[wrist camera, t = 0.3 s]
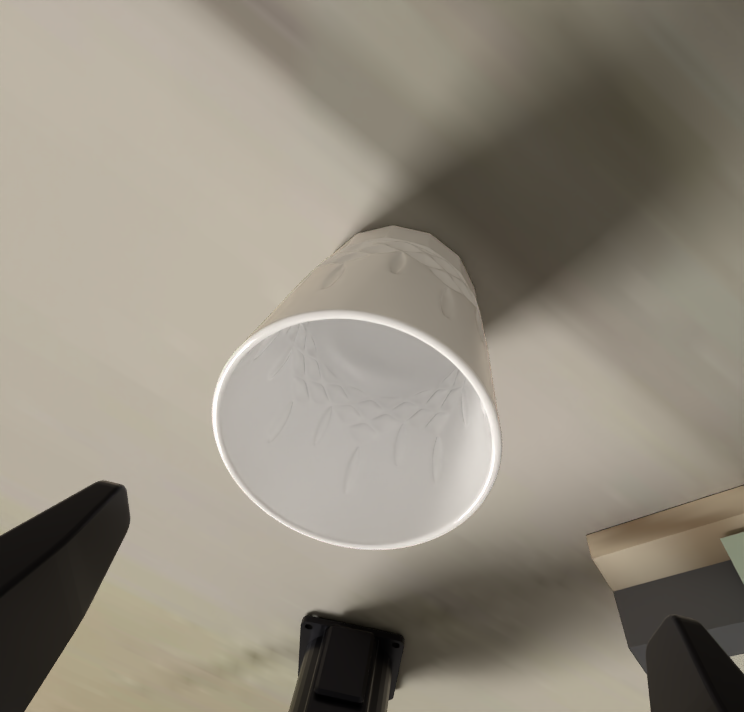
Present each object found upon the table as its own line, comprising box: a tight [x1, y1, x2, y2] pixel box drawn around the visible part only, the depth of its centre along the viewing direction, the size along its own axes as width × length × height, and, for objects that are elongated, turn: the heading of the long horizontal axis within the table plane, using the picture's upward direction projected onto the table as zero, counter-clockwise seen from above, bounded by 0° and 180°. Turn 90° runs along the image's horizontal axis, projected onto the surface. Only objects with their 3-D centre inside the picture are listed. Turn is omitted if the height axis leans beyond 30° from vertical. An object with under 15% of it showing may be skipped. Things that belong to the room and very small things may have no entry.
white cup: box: [212, 225, 502, 550], centre depth 19 cm, size 8×8×10 cm
